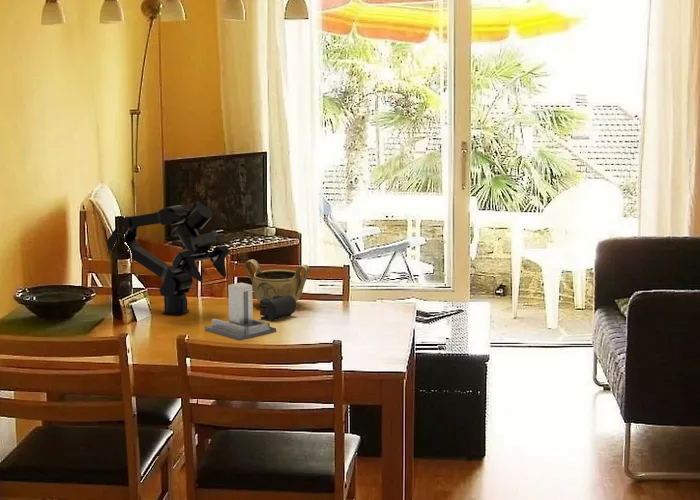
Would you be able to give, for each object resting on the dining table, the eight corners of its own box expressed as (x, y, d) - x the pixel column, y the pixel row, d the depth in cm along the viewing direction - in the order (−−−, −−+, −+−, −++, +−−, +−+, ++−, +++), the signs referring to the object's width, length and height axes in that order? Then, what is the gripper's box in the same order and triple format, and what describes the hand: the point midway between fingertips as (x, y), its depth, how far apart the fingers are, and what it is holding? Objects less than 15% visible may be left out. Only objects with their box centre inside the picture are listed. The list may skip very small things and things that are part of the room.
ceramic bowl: (235, 309, 332) (234, 263, 329) (259, 298, 347) (258, 255, 345) (297, 315, 323) (297, 269, 321) (319, 304, 339) (319, 260, 336)
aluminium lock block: (228, 327, 304) (228, 284, 301) (241, 324, 307) (241, 282, 305) (239, 330, 300) (239, 287, 298) (252, 327, 303) (252, 285, 301)
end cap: (276, 323, 314) (275, 301, 313) (258, 319, 318) (258, 298, 317) (296, 317, 322) (296, 296, 321) (279, 313, 326) (279, 293, 325)
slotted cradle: (205, 330, 304) (205, 320, 304) (241, 322, 314) (241, 312, 314) (239, 340, 293) (239, 330, 293) (276, 331, 303) (276, 321, 303)
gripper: (176, 225, 306) (200, 267, 300) (225, 219, 319) (248, 259, 314) (162, 248, 313) (184, 289, 307) (210, 241, 326) (232, 280, 320)
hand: (213, 278), depth 312 cm, fingers open, 9 cm apart
